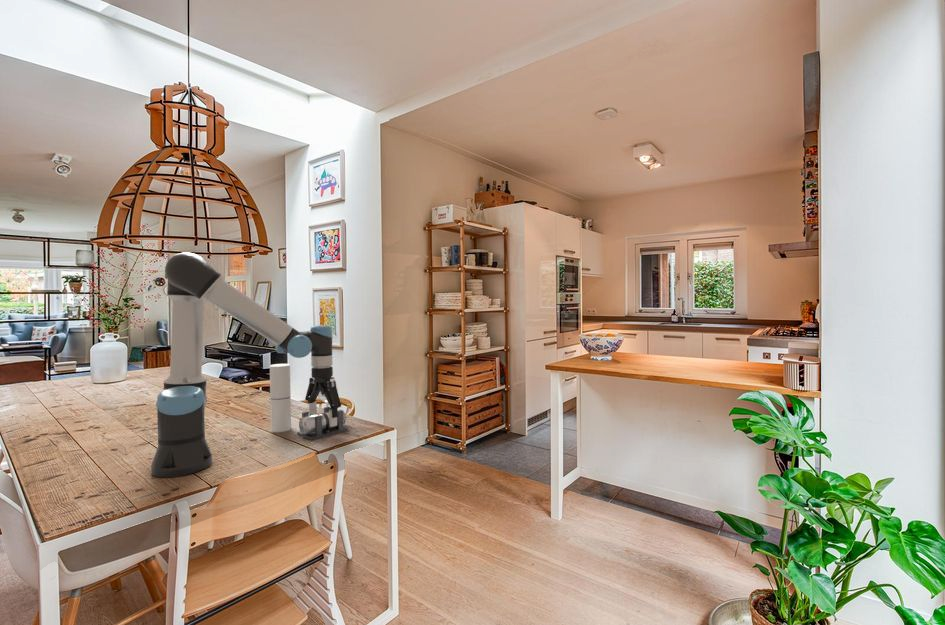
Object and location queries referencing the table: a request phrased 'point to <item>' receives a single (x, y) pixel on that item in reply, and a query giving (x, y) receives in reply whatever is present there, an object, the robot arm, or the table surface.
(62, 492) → the table surface
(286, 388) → the cylindrical container
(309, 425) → the tube
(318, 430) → the rail
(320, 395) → the wineglass
